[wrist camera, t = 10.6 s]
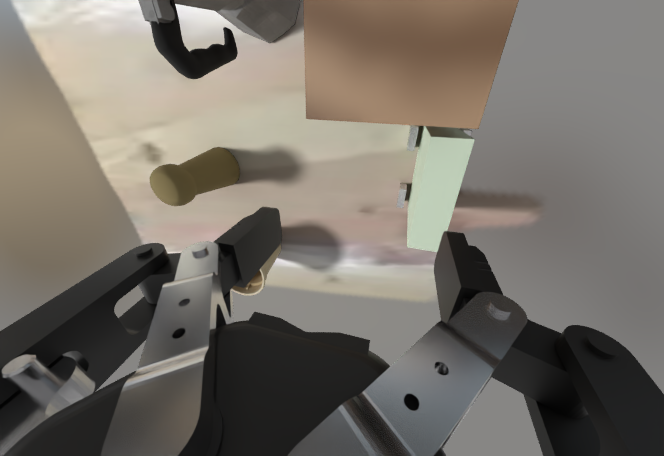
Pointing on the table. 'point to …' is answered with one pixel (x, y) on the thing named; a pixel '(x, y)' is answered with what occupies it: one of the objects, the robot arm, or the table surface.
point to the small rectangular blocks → (411, 147)
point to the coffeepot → (238, 8)
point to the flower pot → (258, 277)
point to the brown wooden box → (403, 59)
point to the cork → (194, 176)
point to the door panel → (436, 184)
